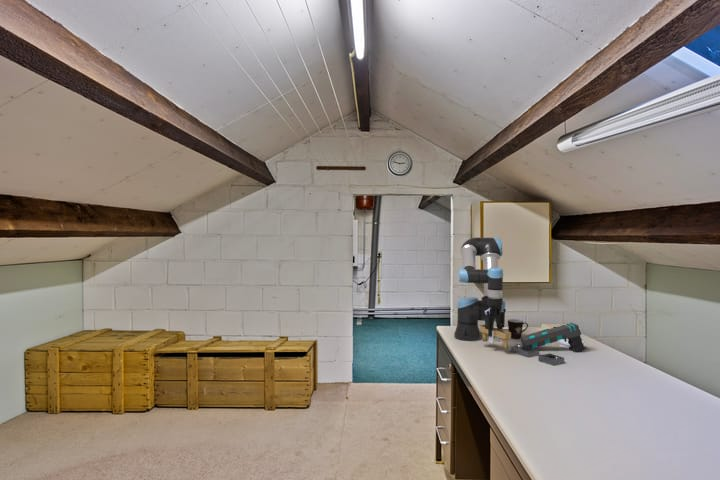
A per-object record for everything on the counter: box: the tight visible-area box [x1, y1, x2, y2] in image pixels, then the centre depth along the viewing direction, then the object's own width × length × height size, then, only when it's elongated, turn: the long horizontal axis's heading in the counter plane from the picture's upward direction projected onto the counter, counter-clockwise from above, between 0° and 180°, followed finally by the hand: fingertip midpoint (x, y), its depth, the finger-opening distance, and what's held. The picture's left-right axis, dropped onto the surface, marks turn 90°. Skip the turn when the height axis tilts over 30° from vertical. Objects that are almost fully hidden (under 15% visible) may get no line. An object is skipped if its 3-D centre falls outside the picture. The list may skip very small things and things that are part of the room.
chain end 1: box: [509, 343, 540, 358], centre depth 208 cm, size 11×8×4 cm
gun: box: [519, 322, 585, 353], centre depth 214 cm, size 7×29×15 cm, turn 86°
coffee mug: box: [507, 318, 529, 340], centre depth 239 cm, size 12×9×10 cm
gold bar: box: [478, 324, 512, 349], centre depth 213 cm, size 18×4×8 cm, turn 28°
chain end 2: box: [537, 353, 565, 366], centre depth 194 cm, size 8×8×3 cm
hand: (494, 341), depth 213 cm, fingers closed on gold bar, 4 cm apart
